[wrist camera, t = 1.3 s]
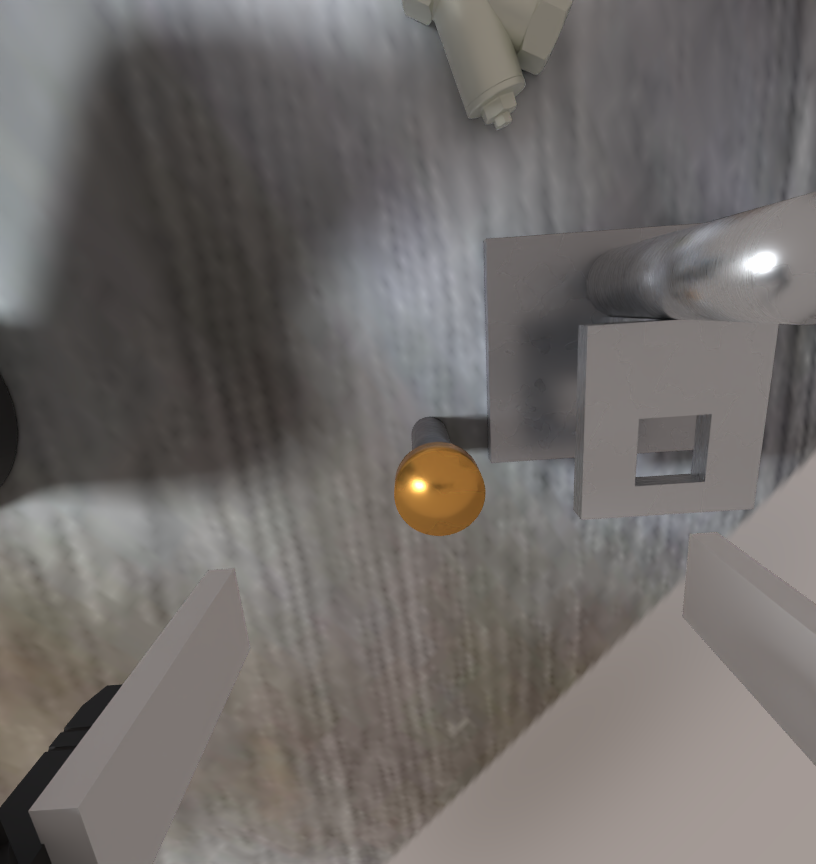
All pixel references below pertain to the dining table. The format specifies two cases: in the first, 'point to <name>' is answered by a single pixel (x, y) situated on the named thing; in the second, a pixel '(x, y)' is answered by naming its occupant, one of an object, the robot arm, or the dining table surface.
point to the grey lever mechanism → (645, 352)
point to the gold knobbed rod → (437, 483)
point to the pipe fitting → (493, 47)
